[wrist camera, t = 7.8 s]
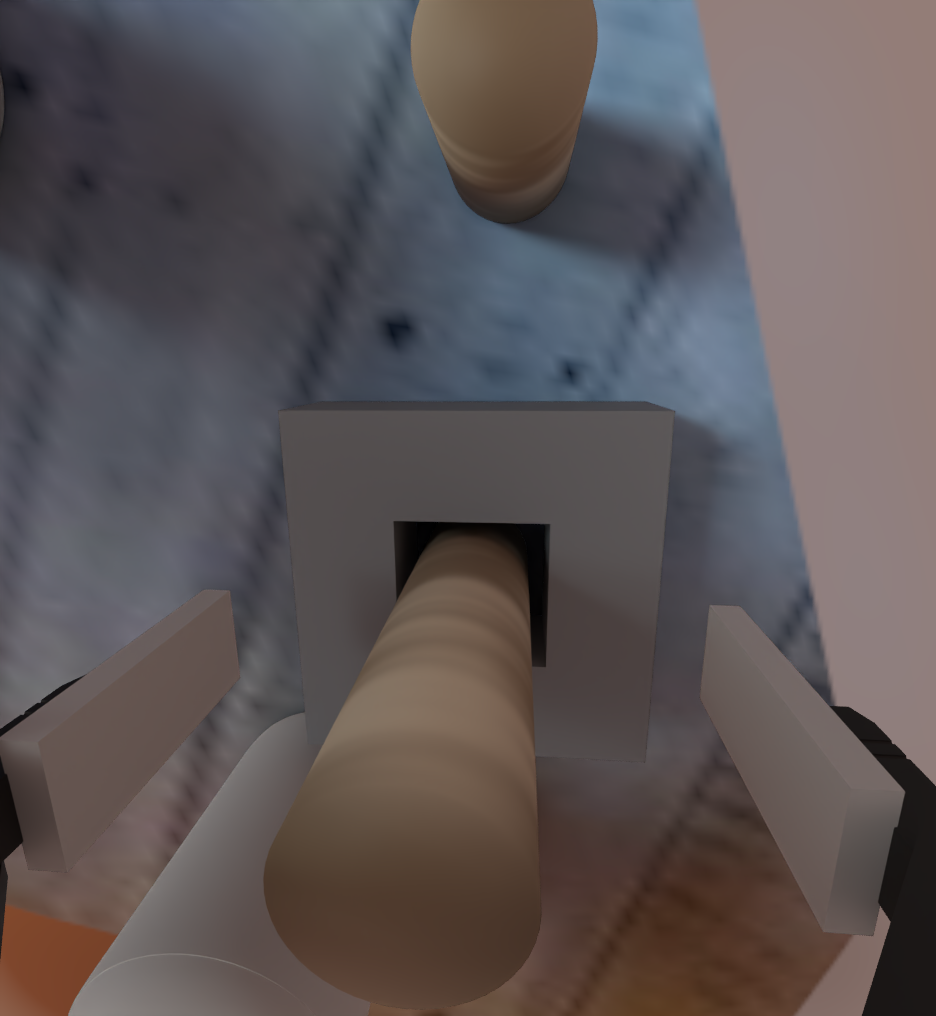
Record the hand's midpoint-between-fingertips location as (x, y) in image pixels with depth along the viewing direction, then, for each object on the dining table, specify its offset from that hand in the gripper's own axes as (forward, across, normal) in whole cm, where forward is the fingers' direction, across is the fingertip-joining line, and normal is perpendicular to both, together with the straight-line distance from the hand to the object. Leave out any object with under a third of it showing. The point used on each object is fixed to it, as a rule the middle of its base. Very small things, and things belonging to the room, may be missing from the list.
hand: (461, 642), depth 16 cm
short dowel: (+7, +1, +14) cm, 16 cm away
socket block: (+7, 0, 0) cm, 7 cm away
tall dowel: (+7, 0, 0) cm, 7 cm away
